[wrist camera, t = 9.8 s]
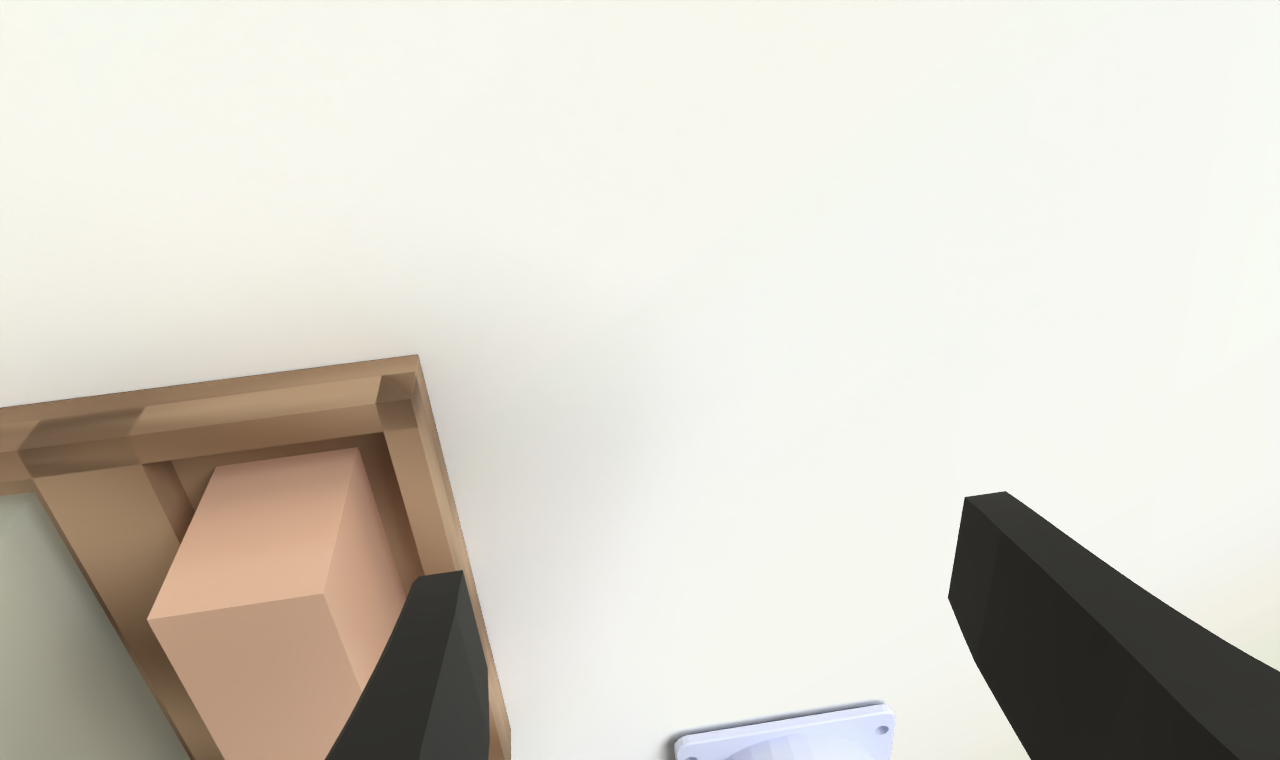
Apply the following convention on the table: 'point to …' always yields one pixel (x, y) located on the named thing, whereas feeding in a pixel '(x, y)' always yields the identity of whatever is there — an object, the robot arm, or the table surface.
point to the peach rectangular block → (280, 603)
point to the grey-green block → (65, 657)
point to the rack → (183, 465)
